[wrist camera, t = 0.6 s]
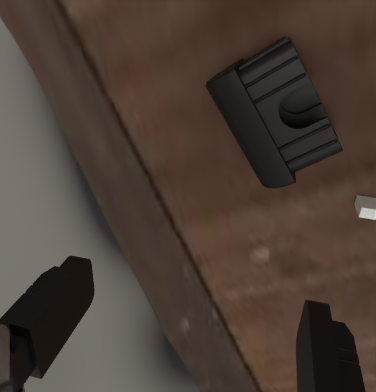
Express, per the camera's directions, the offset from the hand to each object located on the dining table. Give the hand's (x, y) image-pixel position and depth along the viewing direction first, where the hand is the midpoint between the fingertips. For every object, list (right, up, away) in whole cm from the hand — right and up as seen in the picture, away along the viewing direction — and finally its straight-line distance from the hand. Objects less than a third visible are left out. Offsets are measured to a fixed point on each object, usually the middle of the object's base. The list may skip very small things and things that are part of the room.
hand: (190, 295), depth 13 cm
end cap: (+8, +12, +19) cm, 24 cm away
